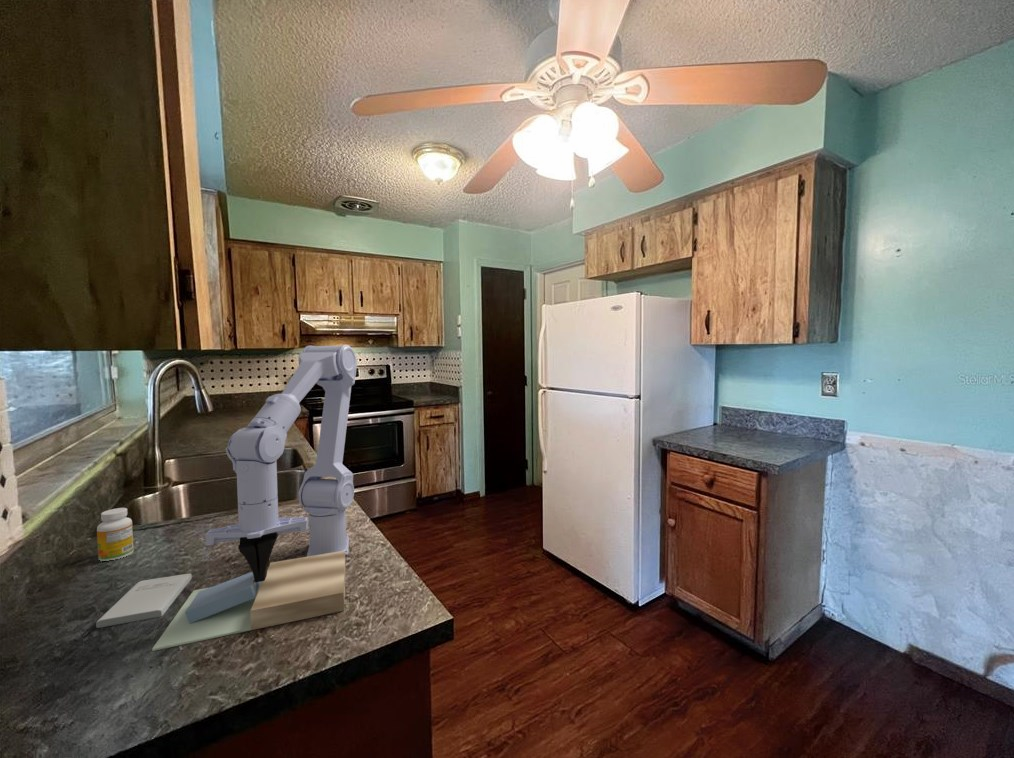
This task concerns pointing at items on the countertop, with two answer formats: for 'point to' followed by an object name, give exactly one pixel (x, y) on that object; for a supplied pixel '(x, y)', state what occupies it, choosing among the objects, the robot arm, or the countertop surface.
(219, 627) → the mat
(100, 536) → the supplement bottle
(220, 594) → the blue flat block
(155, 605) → the external hard drive
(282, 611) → the board
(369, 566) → the countertop surface
